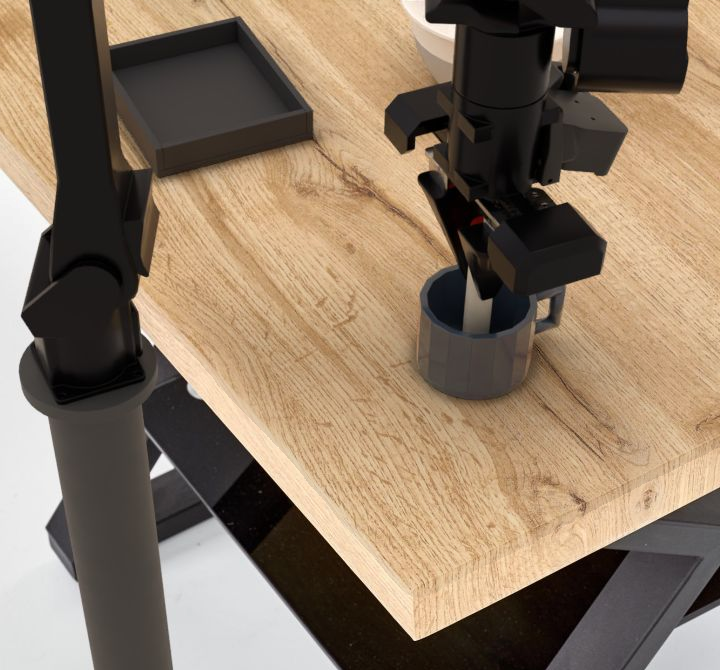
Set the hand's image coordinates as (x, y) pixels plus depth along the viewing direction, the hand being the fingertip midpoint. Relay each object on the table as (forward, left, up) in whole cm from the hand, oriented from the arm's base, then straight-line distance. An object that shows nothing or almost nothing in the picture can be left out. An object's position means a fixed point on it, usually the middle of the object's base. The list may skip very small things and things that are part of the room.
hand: (479, 288), depth 104 cm
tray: (-6, +36, -6) cm, 37 cm away
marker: (0, 0, -6) cm, 6 cm away
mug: (+1, 0, -6) cm, 7 cm away
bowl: (+17, +29, -7) cm, 35 cm away
